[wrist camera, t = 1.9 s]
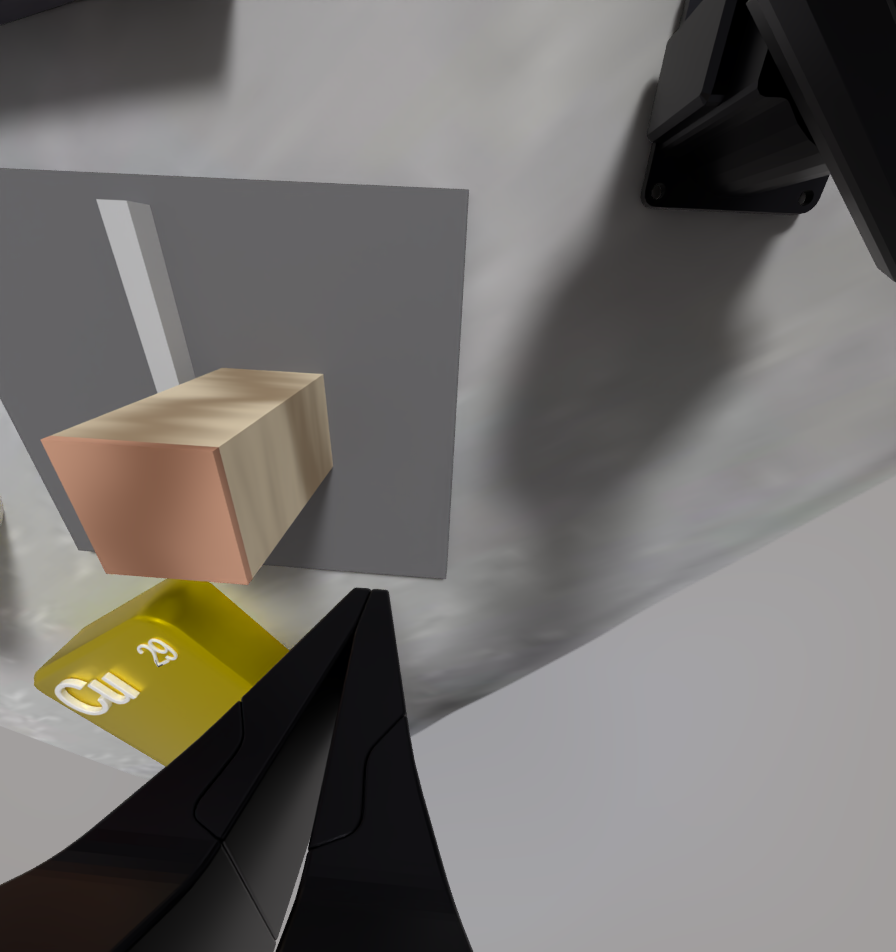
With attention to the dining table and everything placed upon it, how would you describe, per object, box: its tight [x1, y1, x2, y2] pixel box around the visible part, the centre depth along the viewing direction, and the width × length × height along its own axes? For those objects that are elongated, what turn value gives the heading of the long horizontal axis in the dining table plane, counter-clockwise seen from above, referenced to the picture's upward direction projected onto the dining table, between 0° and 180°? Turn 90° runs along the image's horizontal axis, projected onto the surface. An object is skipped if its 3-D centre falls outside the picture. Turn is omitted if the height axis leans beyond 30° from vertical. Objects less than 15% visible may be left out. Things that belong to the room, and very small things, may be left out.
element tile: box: [34, 578, 289, 766], centre depth 30 cm, size 15×15×5 cm
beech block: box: [41, 368, 333, 585], centre depth 16 cm, size 5×5×9 cm
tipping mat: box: [0, 168, 469, 579], centre depth 20 cm, size 24×20×2 cm
